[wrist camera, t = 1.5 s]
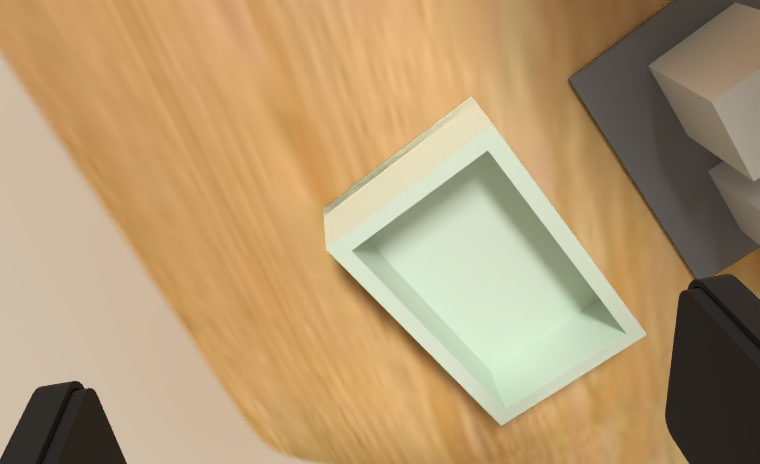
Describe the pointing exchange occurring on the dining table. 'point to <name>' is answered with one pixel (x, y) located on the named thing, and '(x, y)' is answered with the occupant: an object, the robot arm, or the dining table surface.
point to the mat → (664, 137)
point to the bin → (479, 265)
